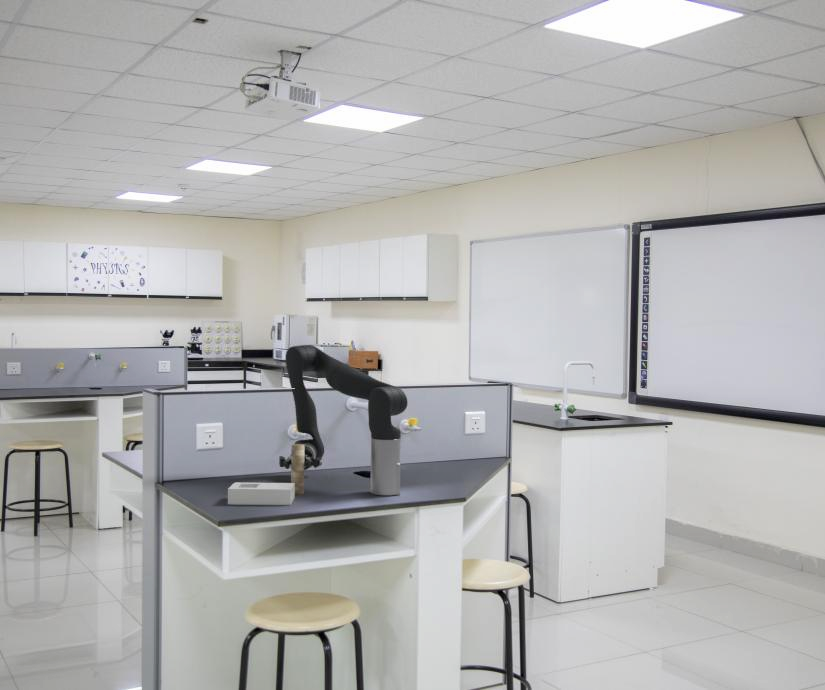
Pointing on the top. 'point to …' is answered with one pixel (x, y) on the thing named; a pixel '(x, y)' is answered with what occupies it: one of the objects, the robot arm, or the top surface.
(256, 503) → the hole block
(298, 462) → the birch peg
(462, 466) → the top surface
